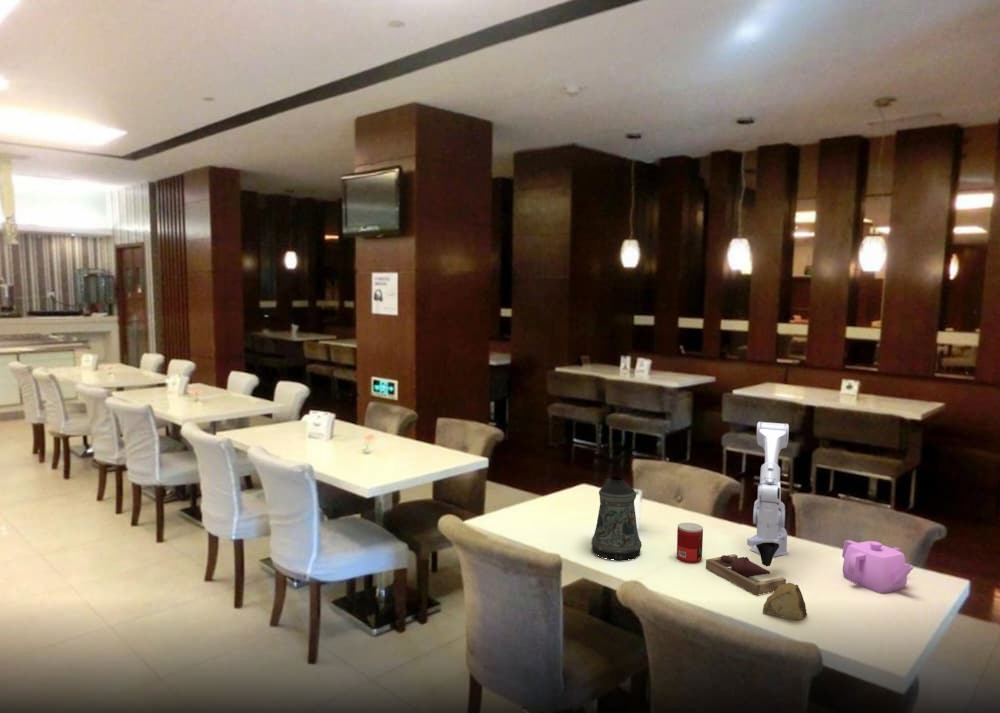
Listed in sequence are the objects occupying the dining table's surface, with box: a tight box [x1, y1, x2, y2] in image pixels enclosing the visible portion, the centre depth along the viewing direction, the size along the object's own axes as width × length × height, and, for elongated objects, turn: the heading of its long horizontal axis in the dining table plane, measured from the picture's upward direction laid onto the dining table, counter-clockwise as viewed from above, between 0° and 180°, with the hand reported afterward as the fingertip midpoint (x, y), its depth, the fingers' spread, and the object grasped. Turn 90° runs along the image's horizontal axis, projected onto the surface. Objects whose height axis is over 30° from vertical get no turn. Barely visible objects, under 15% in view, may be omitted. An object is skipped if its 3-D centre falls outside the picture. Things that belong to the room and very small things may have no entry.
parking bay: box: [705, 553, 787, 596], centre depth 206 cm, size 12×21×3 cm, turn 24°
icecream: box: [720, 554, 771, 579], centre depth 206 cm, size 7×7×15 cm
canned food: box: [676, 522, 704, 564], centre depth 220 cm, size 8×8×11 cm
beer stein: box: [591, 475, 642, 561], centre depth 227 cm, size 16×19×25 cm
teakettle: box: [841, 539, 914, 594], centre depth 203 cm, size 17×17×12 cm
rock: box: [762, 582, 808, 620], centre depth 183 cm, size 11×9×10 cm
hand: (766, 565), depth 209 cm, fingers closed
